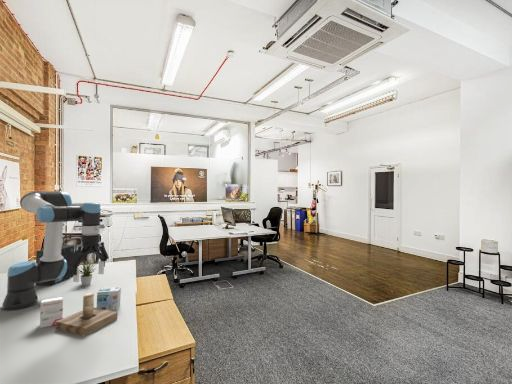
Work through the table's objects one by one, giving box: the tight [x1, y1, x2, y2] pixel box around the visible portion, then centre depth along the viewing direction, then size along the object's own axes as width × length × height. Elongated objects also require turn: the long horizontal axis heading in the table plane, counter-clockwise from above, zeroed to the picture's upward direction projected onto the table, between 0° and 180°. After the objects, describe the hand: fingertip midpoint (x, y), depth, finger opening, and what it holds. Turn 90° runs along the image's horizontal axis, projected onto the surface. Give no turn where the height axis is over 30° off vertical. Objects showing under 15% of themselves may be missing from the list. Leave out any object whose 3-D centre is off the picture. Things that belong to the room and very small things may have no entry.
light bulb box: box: [96, 286, 122, 312], centre depth 149 cm, size 11×7×11 cm, turn 105°
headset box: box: [34, 244, 75, 287], centre depth 195 cm, size 22×12×26 cm, turn 179°
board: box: [55, 307, 118, 337], centre depth 131 cm, size 18×18×4 cm
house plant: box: [79, 260, 98, 286], centre depth 189 cm, size 14×14×16 cm
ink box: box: [39, 296, 64, 329], centre depth 130 cm, size 9×5×12 cm, turn 125°
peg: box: [82, 292, 95, 320], centre depth 131 cm, size 4×4×14 cm
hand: (89, 277), depth 131 cm, fingers open, 13 cm apart
